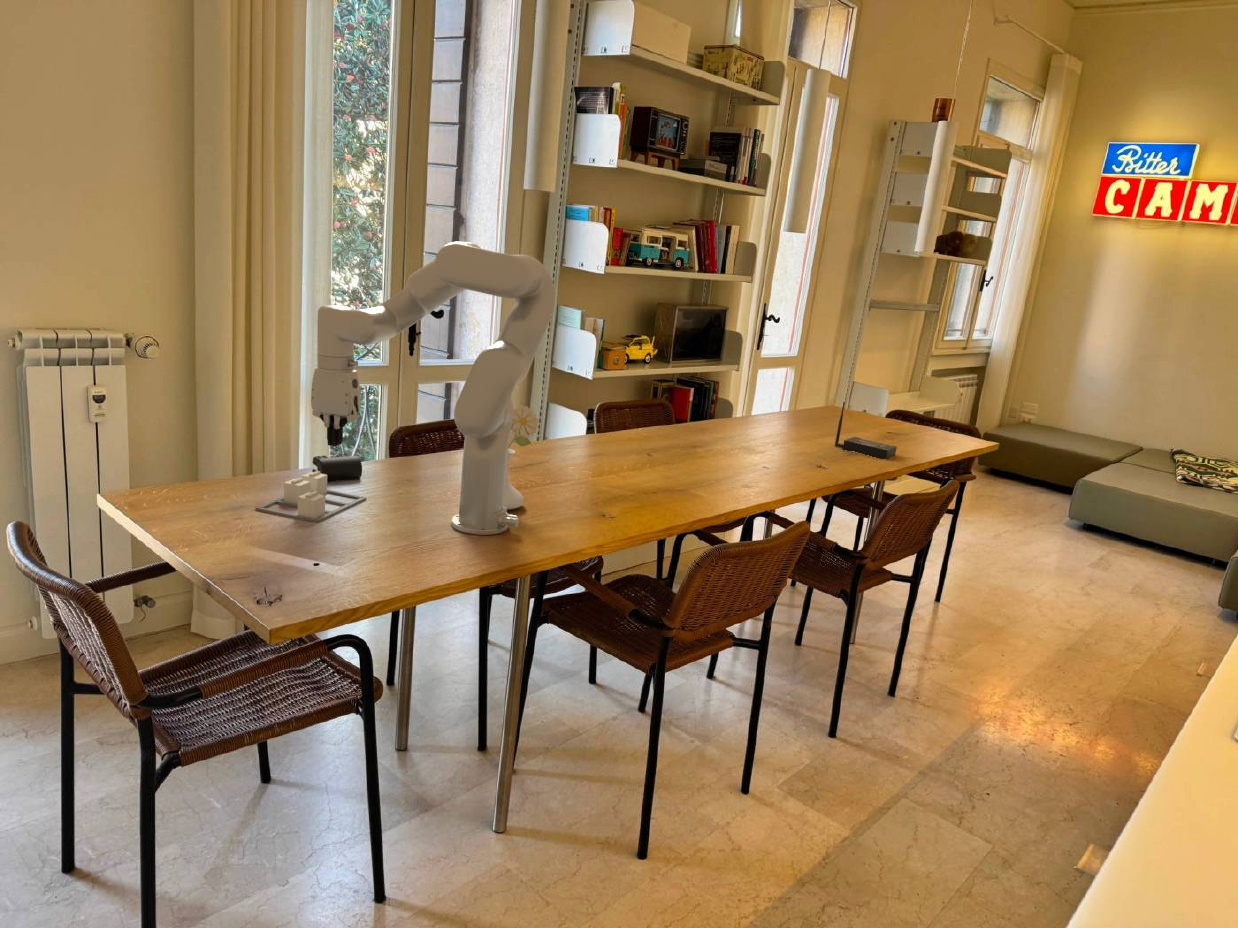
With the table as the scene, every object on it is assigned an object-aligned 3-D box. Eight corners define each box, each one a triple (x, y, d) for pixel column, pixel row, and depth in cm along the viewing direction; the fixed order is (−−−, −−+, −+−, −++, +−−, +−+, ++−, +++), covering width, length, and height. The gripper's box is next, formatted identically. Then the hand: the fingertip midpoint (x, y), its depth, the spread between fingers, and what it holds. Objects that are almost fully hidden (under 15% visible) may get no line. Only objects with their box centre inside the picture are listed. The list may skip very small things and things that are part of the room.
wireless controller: (896, 456, 316) (905, 410, 311) (883, 461, 305) (893, 414, 300) (843, 443, 326) (852, 399, 322) (830, 448, 315) (838, 402, 311)
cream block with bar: (326, 493, 200) (327, 472, 199) (316, 497, 196) (317, 476, 195) (311, 490, 201) (311, 469, 200) (301, 494, 197) (301, 473, 196)
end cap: (322, 489, 206) (322, 462, 205) (310, 481, 212) (311, 454, 210) (362, 485, 213) (363, 458, 211) (349, 477, 218) (350, 451, 216)
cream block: (324, 515, 186) (325, 493, 185) (314, 520, 182) (314, 497, 181) (308, 511, 187) (308, 489, 185) (297, 516, 183) (297, 494, 182)
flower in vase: (479, 513, 202) (487, 408, 196) (473, 498, 213) (481, 397, 206) (534, 514, 206) (544, 411, 200) (526, 499, 217) (535, 401, 210)
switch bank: (368, 505, 199) (368, 497, 198) (319, 529, 181) (319, 521, 181) (291, 489, 204) (291, 482, 203) (236, 511, 186) (236, 503, 185)
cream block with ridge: (310, 500, 194) (310, 479, 192) (299, 505, 190) (300, 483, 189) (294, 497, 195) (294, 475, 193) (283, 501, 191) (284, 480, 190)
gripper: (375, 365, 191) (373, 446, 196) (315, 357, 195) (315, 436, 200) (356, 369, 184) (355, 453, 189) (295, 360, 188) (295, 443, 193)
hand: (334, 444), depth 194 cm, fingers closed
